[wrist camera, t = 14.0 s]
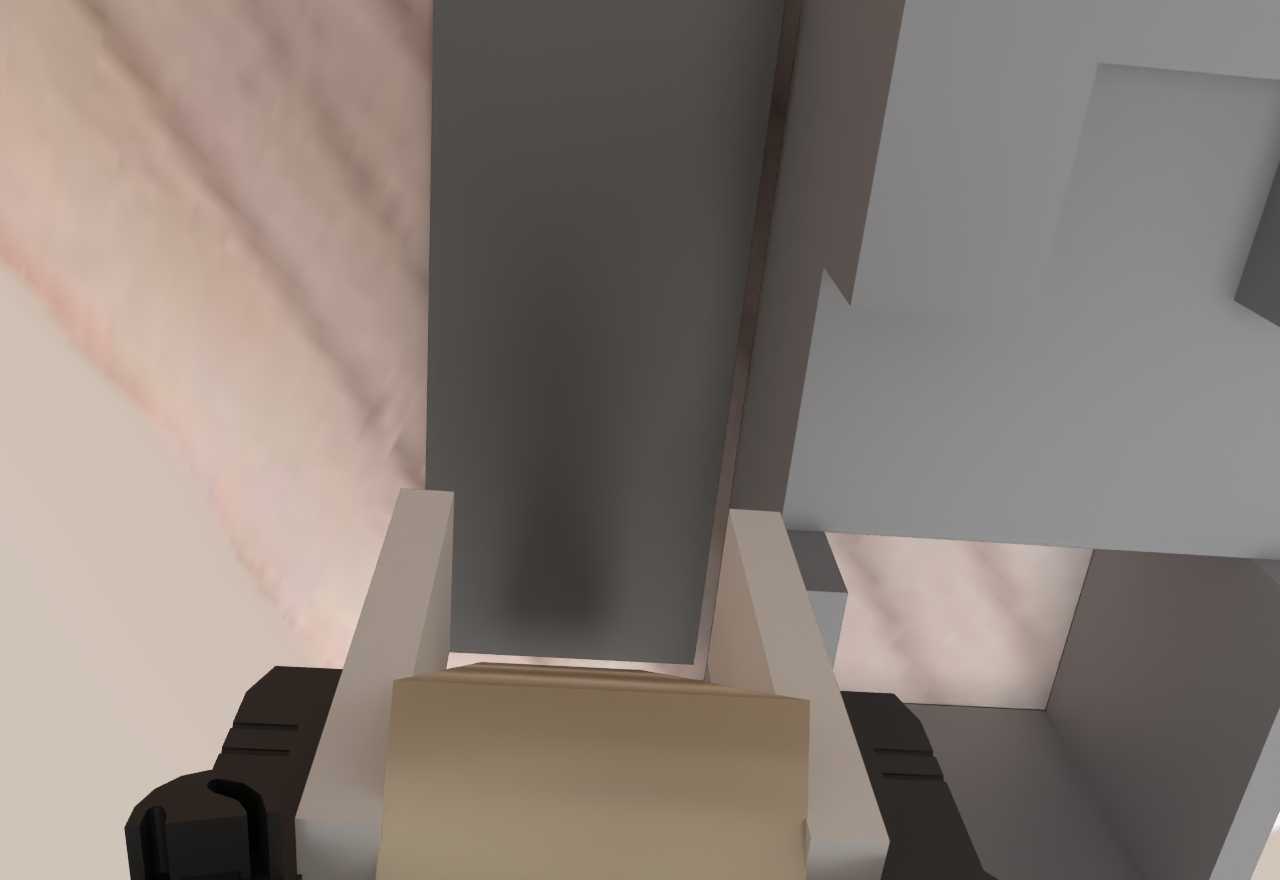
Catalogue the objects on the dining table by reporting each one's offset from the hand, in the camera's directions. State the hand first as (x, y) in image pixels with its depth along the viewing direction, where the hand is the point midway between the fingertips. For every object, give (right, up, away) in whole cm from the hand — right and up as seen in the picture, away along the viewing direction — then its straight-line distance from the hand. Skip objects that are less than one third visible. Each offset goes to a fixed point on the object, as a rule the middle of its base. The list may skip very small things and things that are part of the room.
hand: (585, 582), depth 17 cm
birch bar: (0, -2, +3) cm, 3 cm away
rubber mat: (-1, +5, +13) cm, 14 cm away
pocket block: (+10, +2, +15) cm, 18 cm away
